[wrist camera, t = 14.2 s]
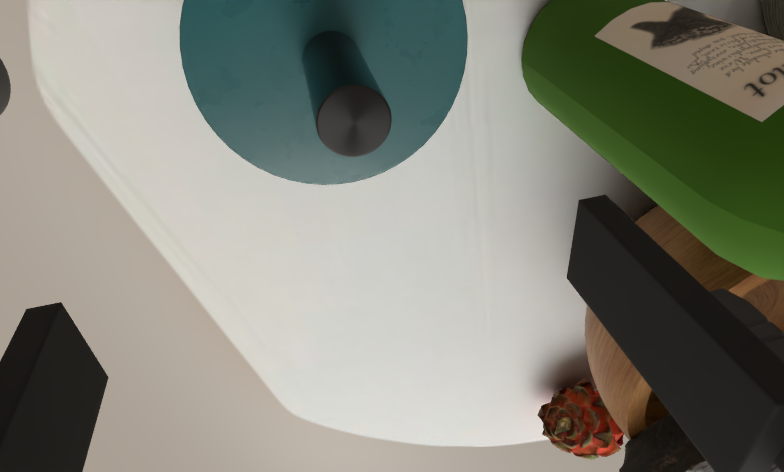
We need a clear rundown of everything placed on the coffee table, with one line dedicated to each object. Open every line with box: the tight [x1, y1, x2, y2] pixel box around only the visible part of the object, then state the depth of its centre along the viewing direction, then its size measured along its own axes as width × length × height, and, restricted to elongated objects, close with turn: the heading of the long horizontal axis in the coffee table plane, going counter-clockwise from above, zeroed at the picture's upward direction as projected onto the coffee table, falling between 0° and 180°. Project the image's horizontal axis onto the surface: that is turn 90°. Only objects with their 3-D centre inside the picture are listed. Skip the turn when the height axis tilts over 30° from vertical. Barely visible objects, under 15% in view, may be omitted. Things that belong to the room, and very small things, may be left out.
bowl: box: [585, 205, 784, 440], centre depth 44 cm, size 25×25×15 cm
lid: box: [180, 0, 468, 185], centre depth 22 cm, size 14×14×9 cm
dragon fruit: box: [538, 380, 624, 460], centre depth 59 cm, size 8×8×12 cm
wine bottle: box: [522, 0, 784, 281], centre depth 24 cm, size 9×9×32 cm
